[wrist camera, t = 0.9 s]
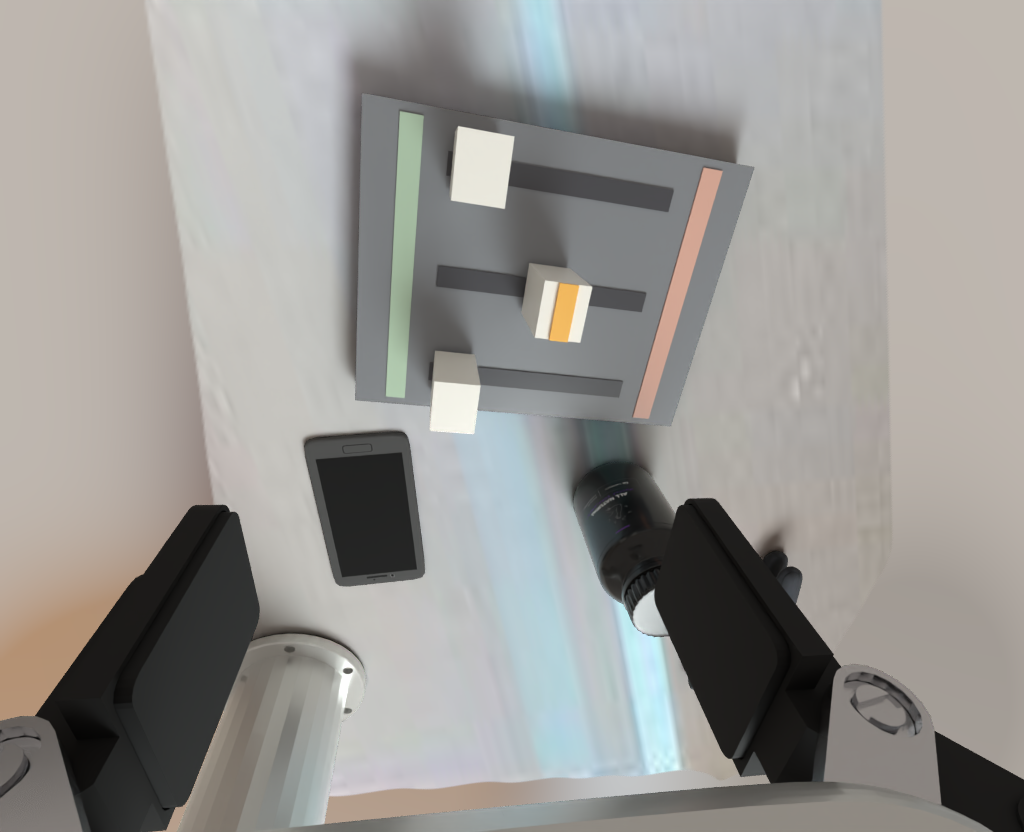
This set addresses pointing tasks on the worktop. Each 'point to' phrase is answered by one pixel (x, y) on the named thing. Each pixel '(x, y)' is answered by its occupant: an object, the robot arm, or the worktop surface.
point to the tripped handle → (555, 303)
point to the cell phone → (367, 506)
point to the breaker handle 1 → (454, 393)
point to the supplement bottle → (626, 536)
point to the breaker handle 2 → (480, 167)
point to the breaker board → (540, 240)
